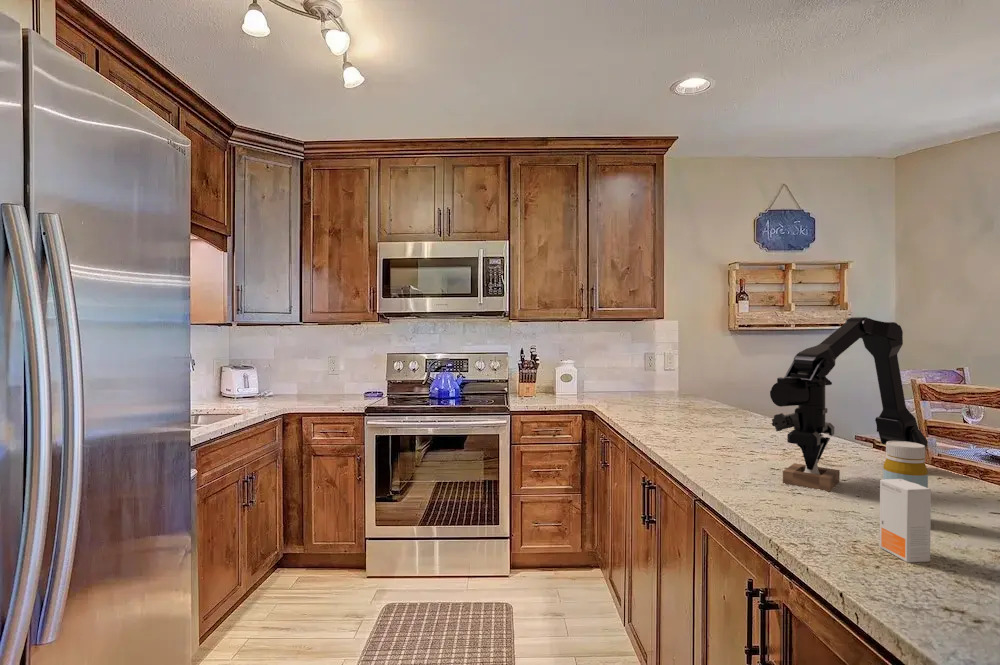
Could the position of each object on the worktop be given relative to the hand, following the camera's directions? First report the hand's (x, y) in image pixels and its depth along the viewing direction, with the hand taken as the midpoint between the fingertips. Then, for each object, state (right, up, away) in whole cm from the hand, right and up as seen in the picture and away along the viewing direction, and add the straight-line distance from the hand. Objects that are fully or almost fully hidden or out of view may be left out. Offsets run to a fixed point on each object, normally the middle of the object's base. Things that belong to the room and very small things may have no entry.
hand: (811, 468), depth 133 cm
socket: (0, -4, 0) cm, 4 cm away
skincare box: (-8, -4, -41) cm, 43 cm away
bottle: (+4, -4, -25) cm, 26 cm away
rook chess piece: (0, -4, 0) cm, 4 cm away
